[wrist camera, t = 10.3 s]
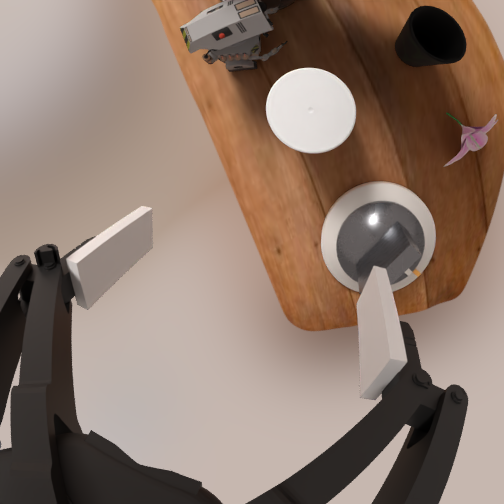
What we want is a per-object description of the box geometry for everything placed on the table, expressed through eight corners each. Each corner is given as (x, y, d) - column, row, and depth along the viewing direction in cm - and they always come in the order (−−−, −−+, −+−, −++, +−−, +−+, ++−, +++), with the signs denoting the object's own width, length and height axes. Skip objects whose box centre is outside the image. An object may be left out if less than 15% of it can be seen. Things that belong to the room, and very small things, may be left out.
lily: (419, 157, 37) (457, 192, 31) (421, 89, 29) (469, 116, 22) (466, 145, 36) (502, 176, 30) (472, 86, 28) (515, 111, 21)
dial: (317, 249, 46) (314, 280, 38) (378, 180, 38) (390, 199, 30) (379, 297, 47) (385, 332, 39) (439, 240, 39) (458, 268, 32)
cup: (394, 72, 31) (418, 60, 21) (382, 28, 28) (400, 3, 18) (438, 74, 29) (472, 66, 19) (427, 30, 26) (456, 10, 16)
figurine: (295, 67, 35) (279, 46, 22) (221, 73, 38) (175, 61, 25) (290, 16, 31) (272, -24, 18) (218, 24, 34) (172, -3, 21)
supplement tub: (297, 70, 35) (284, 50, 23) (357, 96, 35) (372, 88, 22) (274, 125, 40) (250, 133, 28) (331, 151, 40) (335, 170, 28)
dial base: (326, 174, 42) (326, 177, 40) (442, 190, 38) (447, 194, 36) (316, 282, 52) (315, 289, 50) (416, 292, 47) (418, 299, 45)
